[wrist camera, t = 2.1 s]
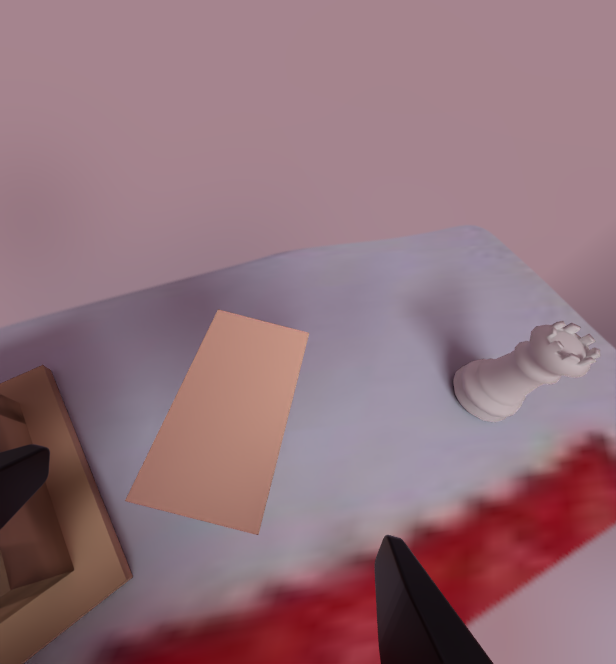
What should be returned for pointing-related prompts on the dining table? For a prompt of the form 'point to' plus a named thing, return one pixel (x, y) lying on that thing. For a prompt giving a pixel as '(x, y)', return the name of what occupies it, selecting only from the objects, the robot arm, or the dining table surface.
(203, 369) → the tan rectangular block
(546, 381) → the rook chess piece
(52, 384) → the wooden compartment tray
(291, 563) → the dining table surface
